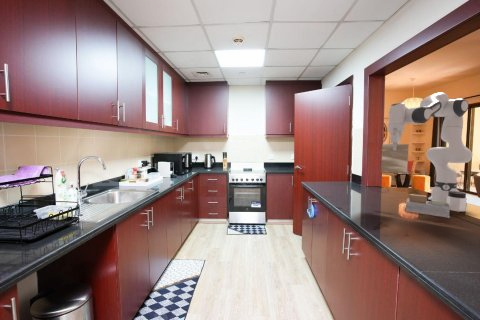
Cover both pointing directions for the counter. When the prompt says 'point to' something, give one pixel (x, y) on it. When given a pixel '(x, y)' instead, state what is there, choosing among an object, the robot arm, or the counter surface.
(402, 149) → the sheet
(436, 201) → the offcut short
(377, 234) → the counter surface
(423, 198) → the offcut tall
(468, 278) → the counter surface
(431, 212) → the rack
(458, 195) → the jar
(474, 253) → the counter surface
